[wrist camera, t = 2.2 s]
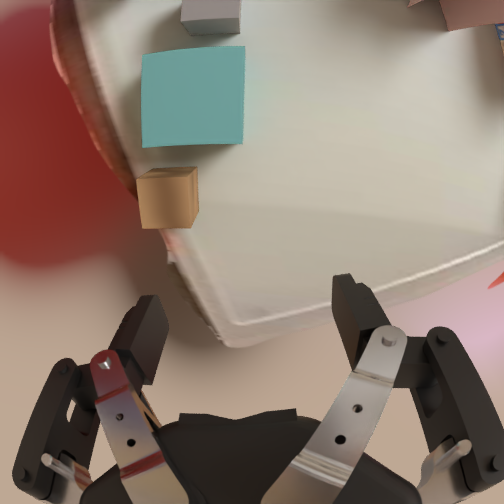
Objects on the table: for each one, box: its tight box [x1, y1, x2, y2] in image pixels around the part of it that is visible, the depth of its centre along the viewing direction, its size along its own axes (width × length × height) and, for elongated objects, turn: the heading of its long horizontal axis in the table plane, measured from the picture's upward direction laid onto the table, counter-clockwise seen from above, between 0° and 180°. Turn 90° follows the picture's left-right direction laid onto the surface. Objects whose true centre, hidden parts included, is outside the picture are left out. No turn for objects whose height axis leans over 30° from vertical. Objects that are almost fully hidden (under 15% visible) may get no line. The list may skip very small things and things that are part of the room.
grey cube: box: [180, 0, 241, 36], centre depth 17 cm, size 5×5×5 cm
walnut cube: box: [136, 167, 199, 229], centre depth 26 cm, size 5×5×5 cm
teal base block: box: [141, 46, 245, 148], centre depth 22 cm, size 9×9×5 cm
